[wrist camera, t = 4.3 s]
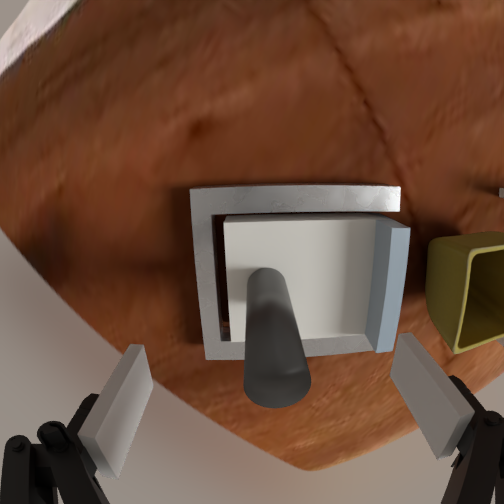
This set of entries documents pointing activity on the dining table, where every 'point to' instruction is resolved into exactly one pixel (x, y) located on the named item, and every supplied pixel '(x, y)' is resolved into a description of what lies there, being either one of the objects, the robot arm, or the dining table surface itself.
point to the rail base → (266, 201)
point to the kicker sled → (309, 291)
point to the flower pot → (466, 288)
